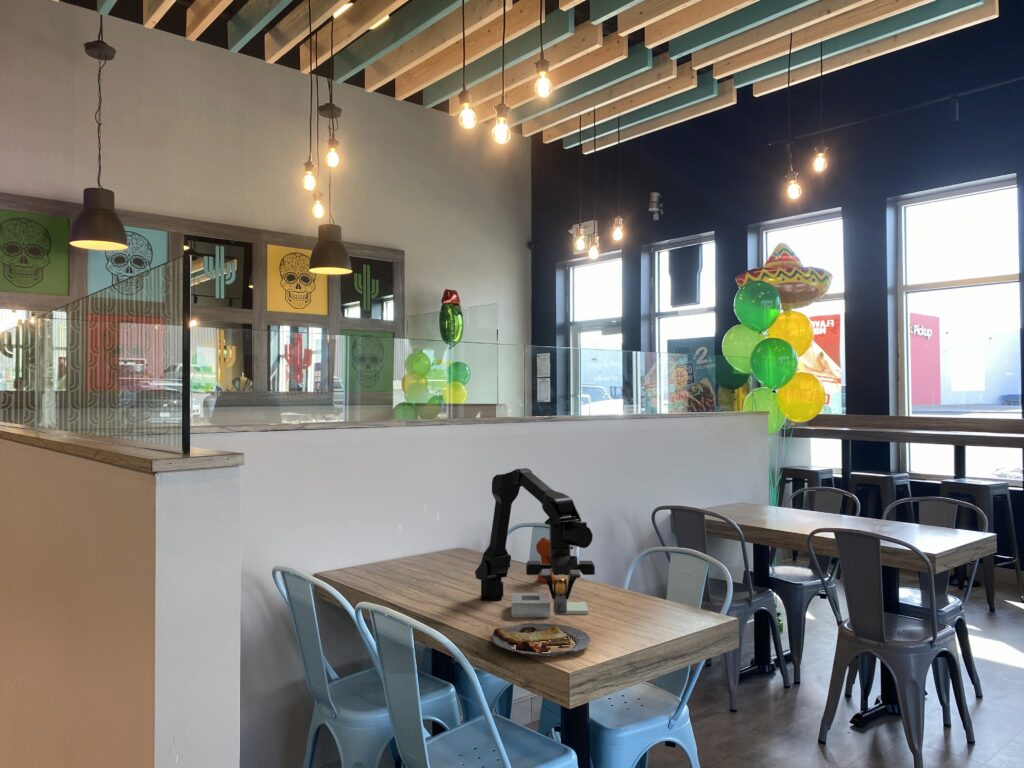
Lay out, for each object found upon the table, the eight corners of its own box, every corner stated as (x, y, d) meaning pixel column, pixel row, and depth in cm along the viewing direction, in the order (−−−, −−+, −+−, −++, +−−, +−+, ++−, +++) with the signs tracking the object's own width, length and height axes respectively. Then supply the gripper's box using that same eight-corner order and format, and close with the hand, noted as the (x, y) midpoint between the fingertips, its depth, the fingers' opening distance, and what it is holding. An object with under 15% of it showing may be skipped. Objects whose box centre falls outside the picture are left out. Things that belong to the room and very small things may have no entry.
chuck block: (511, 617, 219) (511, 603, 219) (512, 606, 230) (511, 593, 230) (550, 617, 219) (550, 603, 219) (548, 606, 230) (548, 592, 230)
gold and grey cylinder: (554, 613, 212) (553, 580, 212) (553, 610, 215) (553, 577, 215) (567, 613, 212) (567, 580, 212) (566, 610, 215) (566, 577, 215)
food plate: (504, 664, 181) (505, 649, 181) (480, 635, 203) (481, 622, 203) (603, 657, 188) (604, 642, 188) (569, 629, 210) (570, 616, 210)
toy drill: (570, 587, 247) (566, 539, 249) (534, 582, 262) (531, 538, 264) (581, 584, 250) (577, 537, 252) (545, 580, 265) (542, 536, 267)
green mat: (556, 614, 222) (556, 610, 222) (555, 605, 231) (555, 602, 231) (588, 614, 222) (588, 610, 222) (585, 605, 231) (585, 602, 231)
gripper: (526, 548, 206) (526, 607, 206) (596, 548, 206) (597, 607, 205) (526, 540, 217) (526, 596, 217) (592, 540, 217) (593, 596, 217)
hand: (560, 598), depth 214 cm, fingers closed on gold and grey cylinder, 4 cm apart
